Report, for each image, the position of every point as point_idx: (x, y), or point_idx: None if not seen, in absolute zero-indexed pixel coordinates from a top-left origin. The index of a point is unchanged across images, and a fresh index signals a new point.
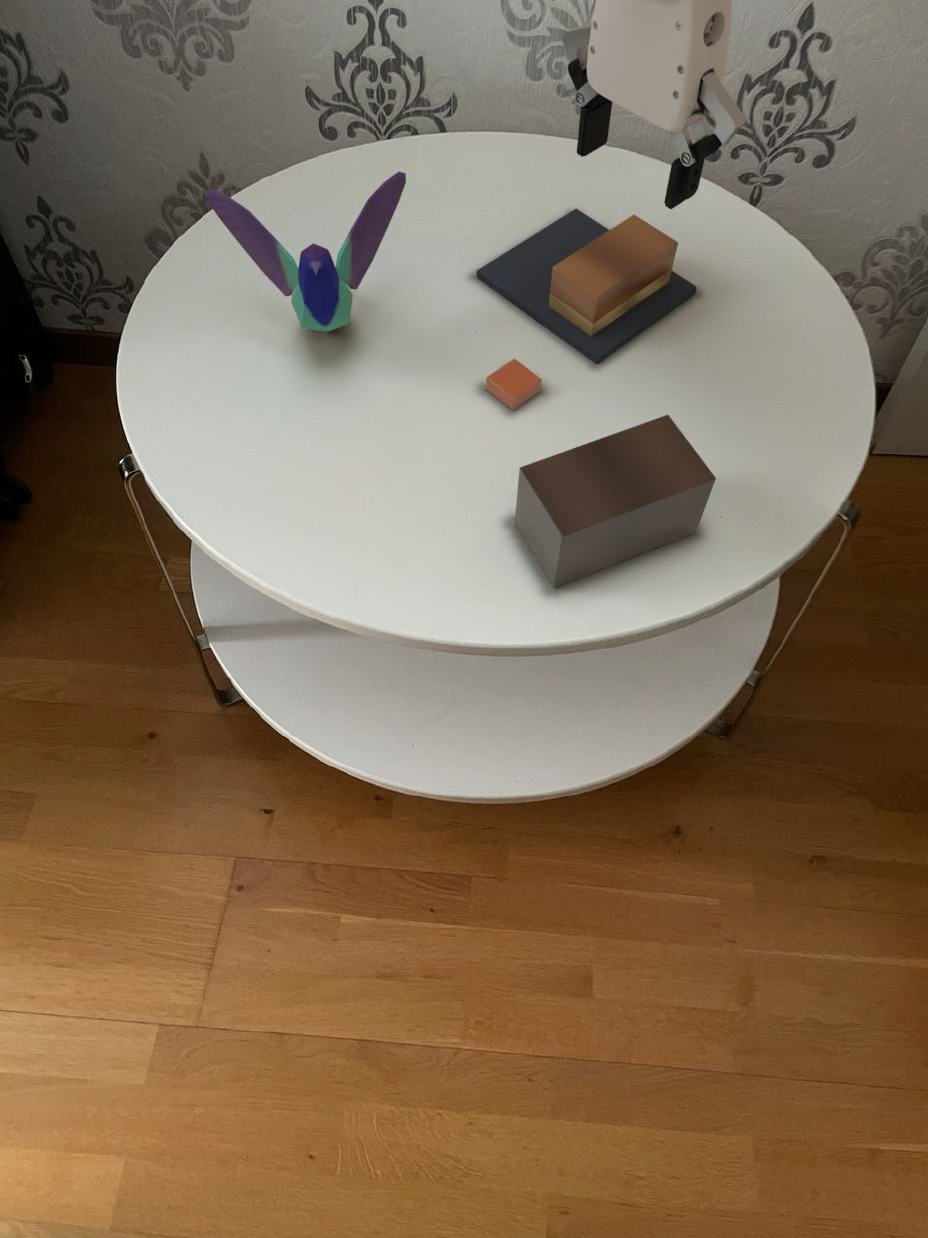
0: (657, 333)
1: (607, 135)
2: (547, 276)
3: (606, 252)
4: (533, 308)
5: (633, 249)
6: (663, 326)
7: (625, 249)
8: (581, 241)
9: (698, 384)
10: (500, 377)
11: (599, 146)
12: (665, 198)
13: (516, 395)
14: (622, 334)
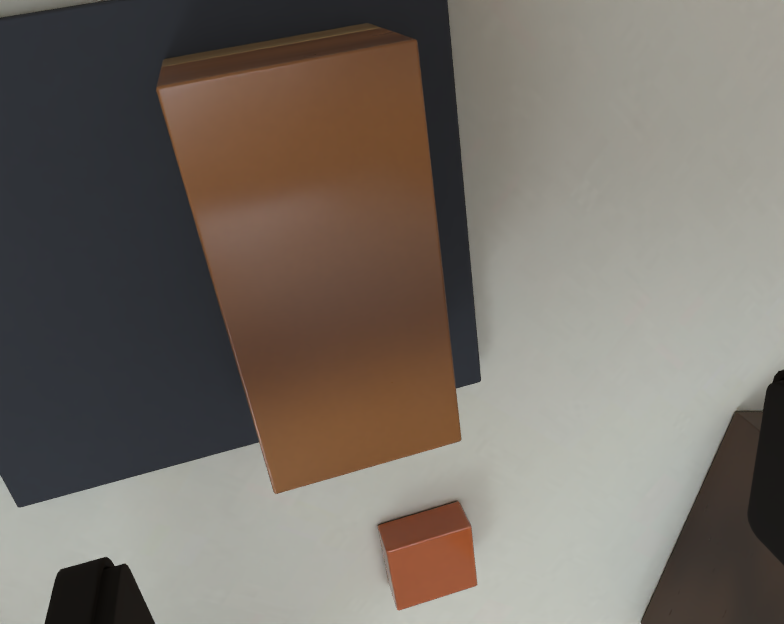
0: (487, 178)
1: (121, 606)
2: (141, 353)
3: (308, 319)
4: (246, 439)
5: (350, 228)
6: (478, 145)
7: (333, 253)
8: (14, 164)
9: (670, 198)
10: (417, 591)
11: (148, 614)
12: (772, 550)
13: (474, 578)
14: (458, 289)
